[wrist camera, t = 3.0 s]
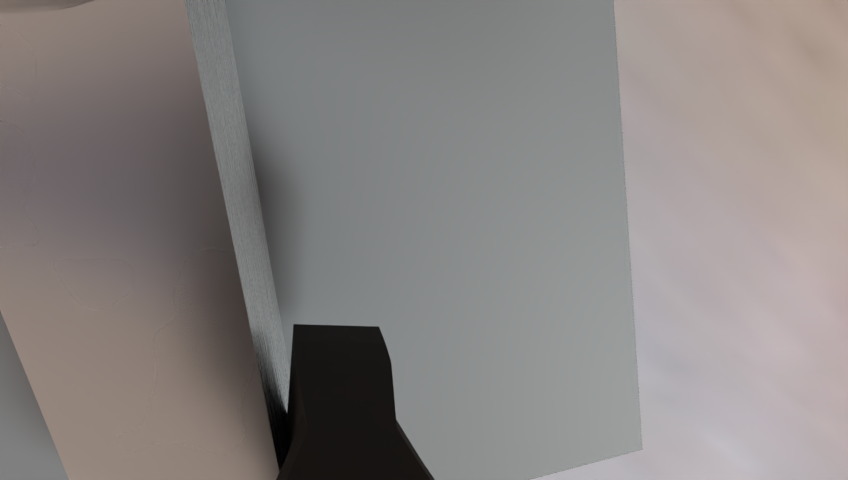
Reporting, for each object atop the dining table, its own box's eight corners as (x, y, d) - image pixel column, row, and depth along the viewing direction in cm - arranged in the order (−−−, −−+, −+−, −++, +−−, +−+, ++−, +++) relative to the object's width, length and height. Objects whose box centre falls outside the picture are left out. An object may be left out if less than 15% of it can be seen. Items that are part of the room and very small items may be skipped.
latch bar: (-191, -446, 6) (-757, -761, 3) (209, -450, 6) (125, -730, 3) (153, 546, 11) (103, 807, 8) (347, 515, 12) (366, 755, 9)
